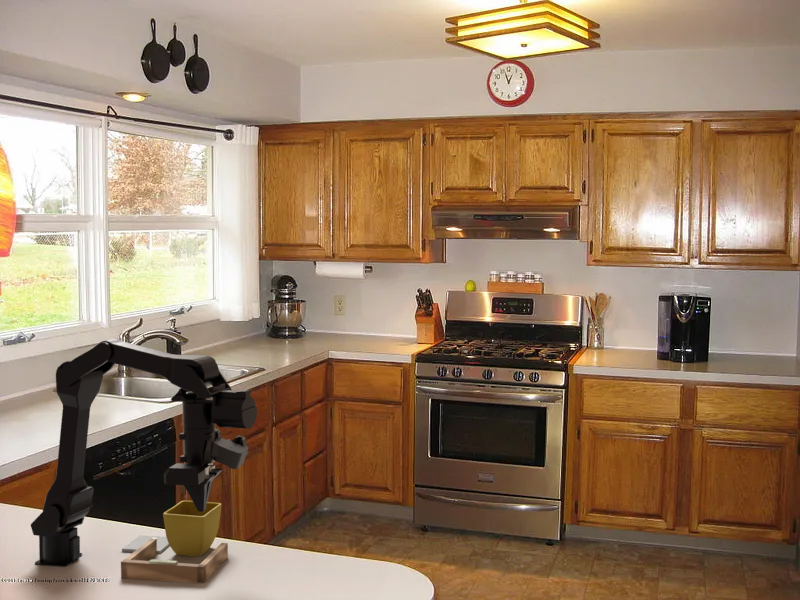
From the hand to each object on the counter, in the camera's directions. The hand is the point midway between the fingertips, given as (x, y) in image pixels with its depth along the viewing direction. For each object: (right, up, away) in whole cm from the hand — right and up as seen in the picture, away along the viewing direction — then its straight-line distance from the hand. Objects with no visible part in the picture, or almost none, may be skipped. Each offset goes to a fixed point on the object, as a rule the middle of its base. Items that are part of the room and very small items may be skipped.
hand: (201, 510), depth 154 cm
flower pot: (-5, -12, +14) cm, 19 cm away
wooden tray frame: (-6, -12, +5) cm, 15 cm away
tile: (-15, -12, +18) cm, 26 cm away
